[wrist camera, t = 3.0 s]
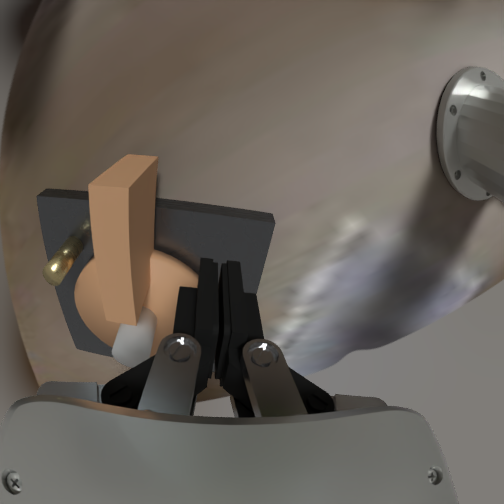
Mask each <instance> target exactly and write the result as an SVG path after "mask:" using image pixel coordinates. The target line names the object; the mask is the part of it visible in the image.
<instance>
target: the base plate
mask: <svg viewBox="0 0 504 504" xmlns="http://www.w3.org/2000/svg"><path fill="white" fill-rule="evenodd" d="M37 203H38V211H39V217H40V223H41V229H42V235H43V240H44V245H45V249H46V254H47V258H48V263H47V265H46V266H45V267H44V269H43V276H44V278H45V280H46V281H47V282H48V283H49V284H51V285H53V286H55V289H56V292H57V295H58V299H59V302H60V305H61V308H62V311H63V314H64V317H65V320H66V322H67V325H68V328H69V331H70V333H71V336H72V338H73V341H74V343H75V346H76V348H77V349H79V350H83V351H88V352H92V353H96V354H100V355H105V356H110V357H113V355H112V347H110V346H109V345H107V344H106V343H104V342H103V341H102V340H100V339H99V338H98V337H97V336H96V335H95V334H94V333H93V332H92V331H91V330H90V329H89V328H88V327H87V326H86V324H85V323H84V321H83V320H82V318H81V316H80V314H79V312H78V310H77V307H76V303H75V296H74V291H75V285H76V282H77V279H78V277H79V275H80V273H81V272H82V270H83V269H84V267H85V265H86V264H87V263H88V262H89V261H90V259H91V258H93V257H94V249H93V240H92V231H91V220H90V207H89V192H88V191H75V190H61V189H45V190H44V191H43V192H41V193H40V194H39V195H37ZM274 227H275V220H274V217H273V214H271V213H265V212H259V211H252V210H245V209H238V208H231V207H224V206H217V205H209V204H202V203H194V202H186V201H178V200H169V199H160V198H155V219H154V249H155V250H158V251H161V252H164V253H166V254H168V255H171V256H173V257H174V258H176V259H178V260H180V261H181V262H183V263H184V264H186V265H187V266H189V267H190V268H191V269H192V270H193V271H194V272H195V273H197V274H198V276H199V267H200V258H201V257H202V258H211V259H213V262H216V263H218V283H219V276H220V270H221V264H222V263H226V262H227V260H229V261H239V262H240V264H241V273H242V281H243V289H244V292H246V293H255V294H257V290H258V286H259V283H260V279H261V275H262V272H263V268H264V264H265V260H266V257H267V253H268V249H269V245H270V242H271V238H272V234H273V230H274ZM212 372H215V364H213V370H212Z"/></svg>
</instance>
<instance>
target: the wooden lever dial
mask: <svg viewBox="0 0 504 504" xmlns="http://www.w3.org/2000/svg"><path fill="white" fill-rule="evenodd" d="M157 167H158V157H156V156H144V155H130V154H127V155H126V156H125V157H123V158H122V159H121V160H119V161H118V162H117V163H115V164H114V165H113V166H111V167H110V168H109V169H107V170H106V171H105V172H104V173H102V174H101V175H100V176H99V177H97V178H96V179H95V180H94V181H92V182H91V183H90V184H89V185H88V188H89V207H90V220H91V231H92V240H93V249H94V257H93V258H91V259H90V261H89V262H88V263H87V264H86V265H85V267H84V269H83V270H82V272H81V273H80V275H79V277H78V279H77V282H76V285H75V291H74V296H75V303H76V307H77V310H78V312H79V314H80V316H81V318H82V320H83V321H84V323H85V324H86V326H87V327H88V328H89V329H90V330H91V331H92V332H93V333H94V334H95V335H96V336H97V337H98V338H99V339H100V340H102V341H103V342H104V343H106V344H107V345H109V346H110V347H112V355H113V357H114V358H115V359H116V360H117V361H118V362H119V363H121V364H123V365H125V366H128V367H131V368H133V367H135V366H137V365H138V364H140V363H142V362H143V361H145V360H147V359H149V358H150V357H152V356H154V355H155V354H156V352H157V350H158V347H159V344H160V342H161V341H162V339H163V338H165V337H166V336H168V335H170V334H173V328H174V320H175V313H176V306H177V299H178V293H179V287H180V286H184V287H193V288H197V286H198V277H199V276H198V274H197V273H195V272H194V271H193V270H192V269H191V268H190V267H189V266H187V265H186V264H184V263H183V262H181V261H180V260H178V259H176V258H174V257H173V256H171V255H168V254H166V253H164V252H161V251H158V250H155V249H154V219H155V196H156V180H157Z"/></svg>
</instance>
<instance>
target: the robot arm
mask: <svg viewBox="0 0 504 504" xmlns="http://www.w3.org/2000/svg"><path fill="white" fill-rule="evenodd" d="M437 146H438V153H439V158H440V163H441V166H442V168H443V171H444V174H445V176H446V178H447V179H448V181H449V183H450V184H451V185H452V186H453V188H454V189H455V190H456V191H458V192H459V193H460V194H462V195H463V196H465V197H467V198H469V199H471V200H476V201H481V200H486V199H488V198H490V197H492V196H494V197H496V198H497V199H499V200H500V201H501V202H503V203H504V81H503V79H502V78H501V77H500V76H499V75H497V74H496V73H495V72H493V71H491V70H489V69H487V68H482V67H467V68H464V69H462V70H460V71H459V72H458V73H456V74H455V75H454V76H453V77H452V79H451V80H450V82H449V83H448V84H447V87H446V89H445V91H444V93H443V95H442V99H441V102H440V106H439V111H438V118H437ZM213 364H215V379H220V386H223V389H225V390H226V391H227V392H228V393H229V394H230V400H231V404H232V408H233V412H234V416H235V418H230V417H228V418H227V417H226V418H225V417H203V416H193V415H194V409H195V404H196V399H197V394H198V393H200V392H201V391H202V390H204V389H205V388H206V387H207V381H208V378H211V376H212V370H213ZM0 504H459V503H458V499H457V495H456V491H455V488H454V484H453V481H452V478H451V475H450V471H449V468H448V466H447V463H446V460H445V457H444V454H443V452H442V450H441V447H440V445H439V442H438V440H437V438H436V436H435V434H434V432H433V430H432V428H431V427H430V425H429V423H428V422H427V421H426V419H425V418H424V417H423V416H422V415H421V414H420V413H418V412H416V411H413V410H411V409H408V408H403V407H396V406H387V405H386V403H385V402H384V401H382V400H381V399H379V398H374V397H361V396H349V395H339V394H336V395H335V396H330V395H329V394H328V393H326V391H324V390H322V389H321V388H319V387H318V386H316V385H315V384H313V383H312V382H310V381H309V380H307V379H305V378H304V377H303V376H301V375H300V374H298V373H297V372H295V371H294V370H292V369H291V368H289V367H288V365H287V363H286V360H285V358H284V355H283V353H282V351H281V349H280V348H279V347H278V346H277V345H276V344H275V343H273V342H271V341H269V340H265V339H264V336H263V330H262V324H261V319H260V313H259V308H258V302H257V296H256V294H255V293H246V292H244V289H243V281H242V273H241V264H240V262H239V261H229V260H227V262H226V263H222V264H221V270H220V276H219V283H218V263H216V262H213V259H211V258H202V257H201V258H200V267H199V277H198V286H197V288H193V287H184V286H180V287H179V293H178V299H177V306H176V313H175V320H174V328H173V334H170V335H168V336H166V337H165V338H163V339H162V341H161V342H160V344H159V347H158V350H157V352H156V354H155V355H154V356H152V357H150V358H149V359H147V360H145V361H143V362H142V363H140V364H138V365H137V366H135V367H133V368H131V369H130V370H128V371H126V372H125V373H123V374H121V375H119V376H118V377H116V378H114V379H112V380H111V381H109V382H108V383H107V384H105V385H98V384H97V382H57V381H50V382H46V383H44V384H42V385H41V386H40V388H39V389H38V392H37V395H36V396H29V397H25V398H22V399H20V400H17V401H16V402H14V404H13V405H11V407H10V408H9V409H8V411H7V413H6V414H5V417H4V419H3V421H2V423H1V426H0Z"/></svg>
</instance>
